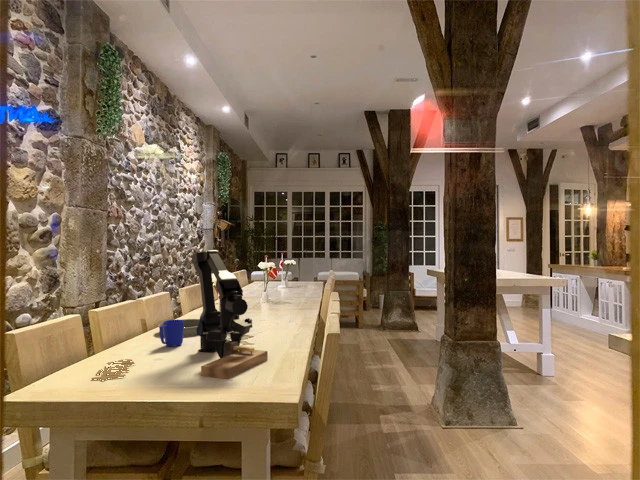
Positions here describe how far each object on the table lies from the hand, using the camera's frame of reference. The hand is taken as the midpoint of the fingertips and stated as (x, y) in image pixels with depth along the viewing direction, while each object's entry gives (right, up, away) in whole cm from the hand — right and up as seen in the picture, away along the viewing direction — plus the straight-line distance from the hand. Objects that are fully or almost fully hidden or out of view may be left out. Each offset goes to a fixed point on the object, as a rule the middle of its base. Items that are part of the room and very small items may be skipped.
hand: (228, 355), depth 166 cm
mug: (-29, -3, +24) cm, 38 cm away
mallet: (+4, -2, -2) cm, 4 cm away
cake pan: (-32, -3, +55) cm, 64 cm away
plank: (+5, -2, -10) cm, 11 cm away
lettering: (-36, -3, -11) cm, 38 cm away
